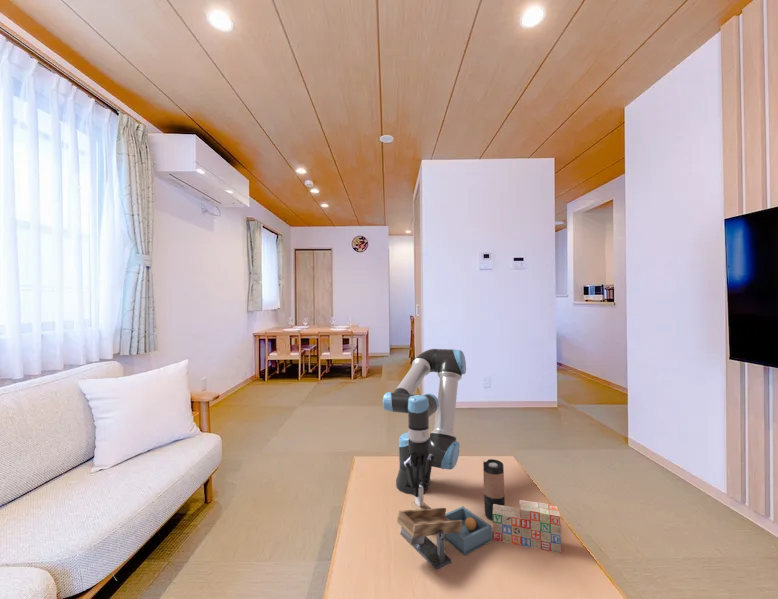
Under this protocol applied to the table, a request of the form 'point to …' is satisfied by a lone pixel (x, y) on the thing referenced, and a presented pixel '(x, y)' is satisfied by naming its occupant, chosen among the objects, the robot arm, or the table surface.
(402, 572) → the table surface
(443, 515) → the chute
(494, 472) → the travel mug
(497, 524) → the stack of blocks
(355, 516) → the table surface
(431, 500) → the table surface
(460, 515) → the tub
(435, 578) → the table surface
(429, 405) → the robot arm
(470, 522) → the ball
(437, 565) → the stand
